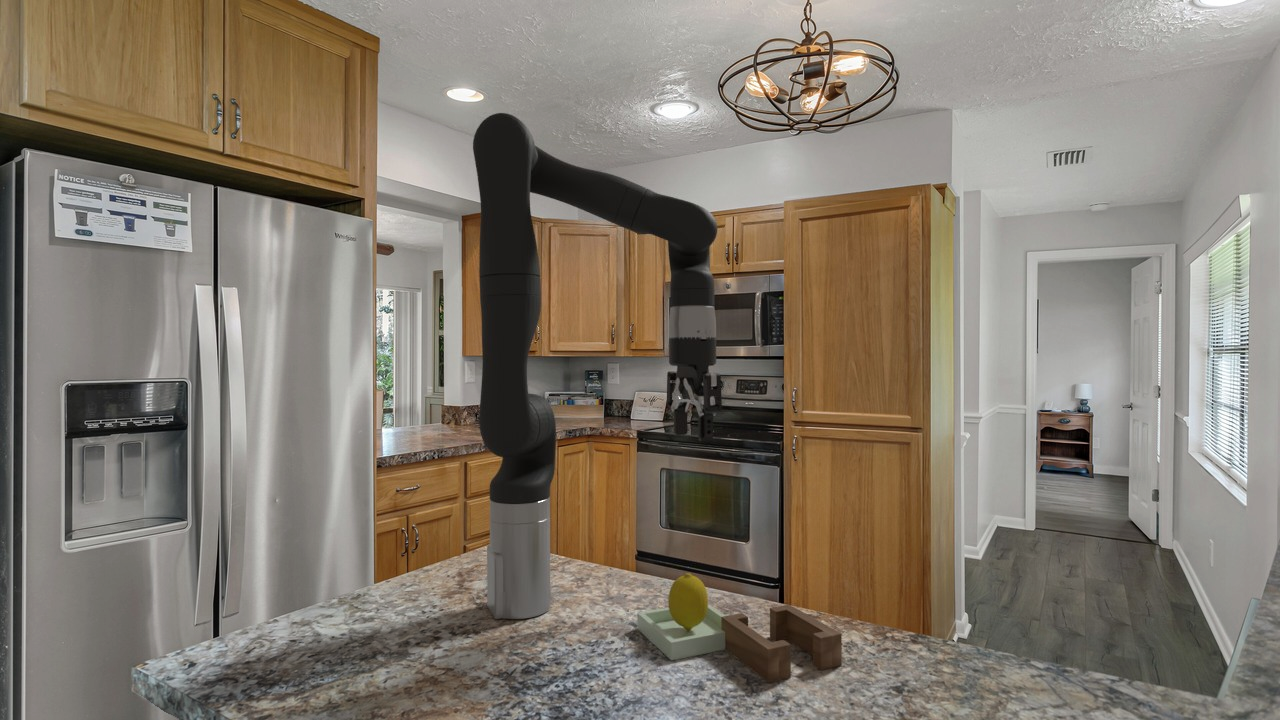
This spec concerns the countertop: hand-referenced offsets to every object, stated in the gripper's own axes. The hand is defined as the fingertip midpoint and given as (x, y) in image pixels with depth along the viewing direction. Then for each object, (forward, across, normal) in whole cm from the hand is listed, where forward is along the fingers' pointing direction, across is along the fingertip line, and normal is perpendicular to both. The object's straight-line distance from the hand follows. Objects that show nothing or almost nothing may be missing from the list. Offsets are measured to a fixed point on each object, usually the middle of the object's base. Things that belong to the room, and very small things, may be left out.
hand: (692, 437), depth 108 cm
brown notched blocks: (+26, +22, +1) cm, 34 cm away
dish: (+26, +12, -7) cm, 30 cm away
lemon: (+26, +12, -7) cm, 29 cm away
